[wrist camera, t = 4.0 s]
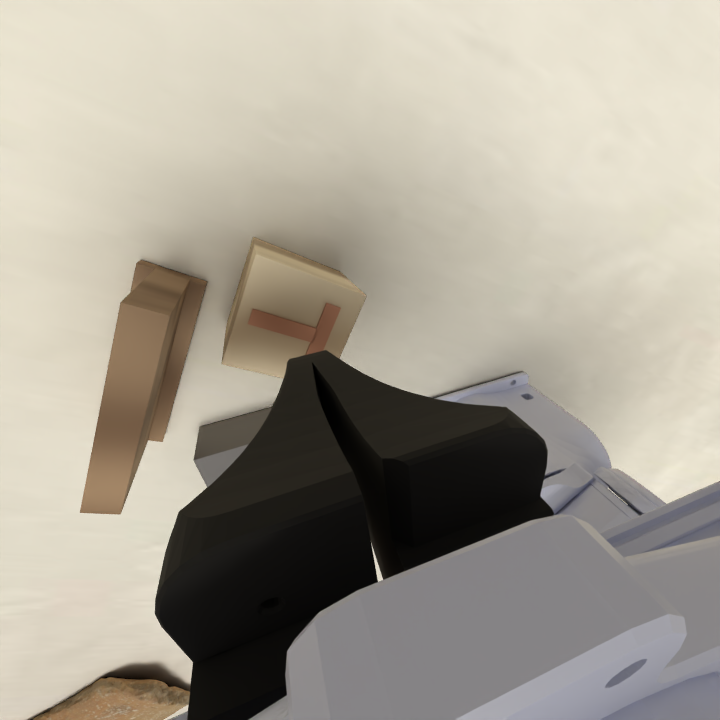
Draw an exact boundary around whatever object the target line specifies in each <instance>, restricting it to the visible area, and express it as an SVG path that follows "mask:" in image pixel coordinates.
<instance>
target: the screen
mask: <svg viewBox="0 0 720 720" xmlns="http://www.w3.org/2000/svg"><path fill="white" fill-rule="evenodd" d="M206 284H207V281H204V280H201V279H198V278H195V277H192V276H189V275H186V274H183V273H179V272H176V271H173V270H170V269H167V268H164V267H161V266H158V265H155V264H152V263H149V262H146V261H143V260H140V261H139V262H137V263H136V268H135V273H134V278H133V283H132V288H131V293H130V294H129V295H128V296H127V297H126V298H125V299H124V300H123V301H122V302H121V303H120V308H119V313H118V319H117V324H116V329H115V334H114V339H113V344H112V350H111V355H110V360H109V365H108V370H107V375H106V381H105V386H104V391H103V396H102V401H101V406H100V412H99V417H98V422H97V427H96V432H95V437H94V443H93V448H92V453H91V458H90V463H89V468H88V474H87V479H86V484H85V489H84V494H83V499H82V505H81V510H80V513H99V514H121V512H122V509H123V506H124V504H125V501H126V498H127V496H128V493H129V490H130V487H131V485H132V482H133V479H134V477H135V474H136V471H137V469H138V466H139V463H140V461H141V458H142V455H143V452H144V450H145V447H146V444H147V442H148V440H151V441H159V442H163V439H164V435H165V432H166V428H167V425H168V421H169V418H170V414H171V410H172V407H173V403H174V400H175V396H176V392H177V389H178V385H179V381H180V378H181V374H182V371H183V367H184V363H185V360H186V356H187V352H188V349H189V345H190V342H191V338H192V334H193V331H194V327H195V324H196V320H197V316H198V313H199V309H200V305H201V302H202V298H203V295H204V291H205V287H206Z"/></svg>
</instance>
